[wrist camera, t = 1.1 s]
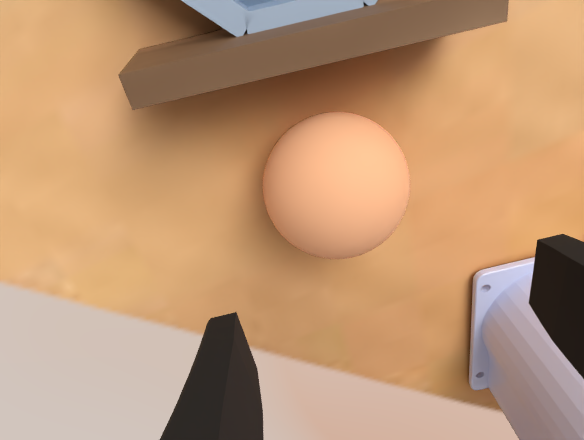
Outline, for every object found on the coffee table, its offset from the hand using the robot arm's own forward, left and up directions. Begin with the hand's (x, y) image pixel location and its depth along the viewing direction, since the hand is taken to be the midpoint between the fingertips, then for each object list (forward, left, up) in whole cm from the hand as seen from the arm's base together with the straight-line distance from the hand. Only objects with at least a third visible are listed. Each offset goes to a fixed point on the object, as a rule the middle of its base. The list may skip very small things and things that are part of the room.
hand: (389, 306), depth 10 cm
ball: (0, 0, -9) cm, 9 cm away
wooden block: (+5, 0, -9) cm, 10 cm away
